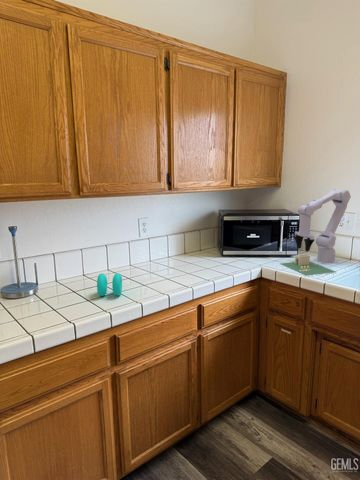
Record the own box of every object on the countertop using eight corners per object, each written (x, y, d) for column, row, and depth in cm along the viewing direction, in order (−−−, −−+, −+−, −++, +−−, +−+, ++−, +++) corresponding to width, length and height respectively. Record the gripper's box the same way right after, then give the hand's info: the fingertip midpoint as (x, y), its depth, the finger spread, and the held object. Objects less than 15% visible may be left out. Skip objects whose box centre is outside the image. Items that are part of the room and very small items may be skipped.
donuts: (100, 291, 155) (99, 270, 153) (122, 291, 156) (121, 270, 153) (97, 299, 145) (95, 277, 143) (120, 299, 146) (119, 277, 144)
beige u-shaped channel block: (304, 262, 200) (305, 254, 199) (309, 264, 196) (310, 256, 195) (294, 263, 198) (295, 255, 197) (299, 265, 194) (299, 257, 193)
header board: (307, 261, 204) (308, 256, 203) (337, 273, 182) (337, 267, 181) (279, 264, 198) (279, 259, 198) (305, 276, 176) (306, 271, 175)
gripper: (291, 224, 198) (289, 247, 201) (307, 228, 184) (305, 252, 187) (301, 224, 200) (299, 246, 203) (317, 228, 186) (315, 251, 189)
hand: (303, 249), depth 195 cm, fingers open, 7 cm apart
